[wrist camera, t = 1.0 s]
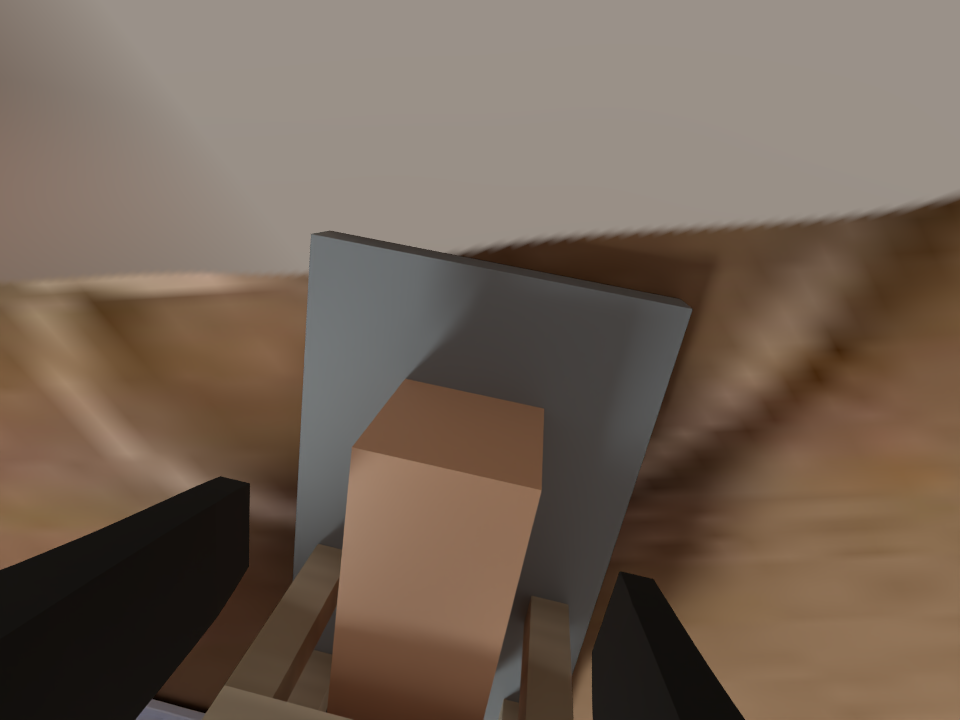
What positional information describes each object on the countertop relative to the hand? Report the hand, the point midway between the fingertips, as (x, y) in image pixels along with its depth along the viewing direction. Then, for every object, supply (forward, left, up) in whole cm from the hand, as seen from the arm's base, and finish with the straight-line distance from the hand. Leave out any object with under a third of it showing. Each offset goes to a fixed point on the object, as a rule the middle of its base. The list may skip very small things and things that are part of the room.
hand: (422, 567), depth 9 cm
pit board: (-6, 0, -7) cm, 9 cm away
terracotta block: (-4, 0, -5) cm, 7 cm away
